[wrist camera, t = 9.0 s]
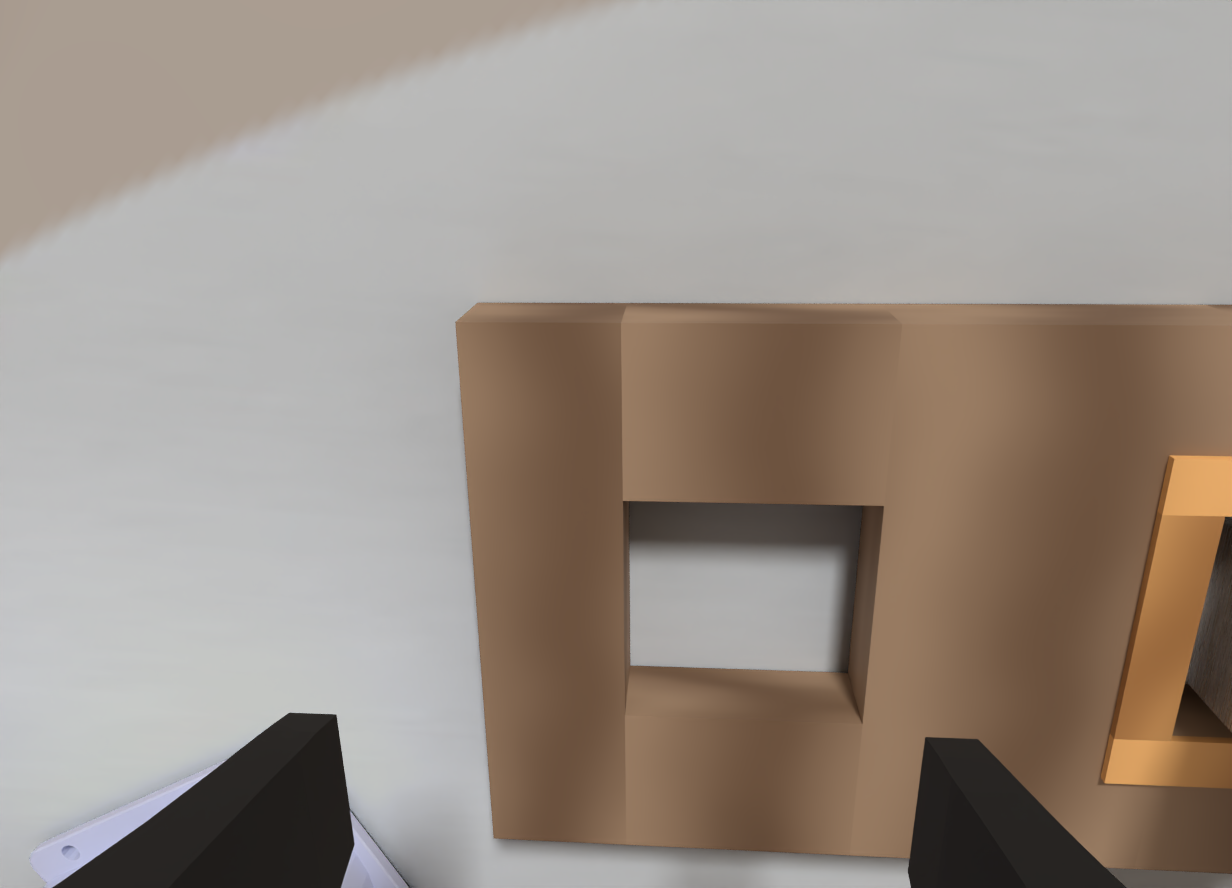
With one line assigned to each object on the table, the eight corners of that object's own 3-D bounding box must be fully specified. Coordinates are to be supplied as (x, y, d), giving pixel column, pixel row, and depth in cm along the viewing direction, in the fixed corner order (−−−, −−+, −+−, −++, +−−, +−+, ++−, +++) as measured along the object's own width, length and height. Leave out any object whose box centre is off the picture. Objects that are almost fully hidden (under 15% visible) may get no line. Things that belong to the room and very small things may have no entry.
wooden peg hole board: (508, 782, 24) (492, 844, 22) (477, 302, 20) (452, 324, 18) (1459, 823, 22) (1538, 895, 20) (1661, 305, 18) (1788, 330, 16)
